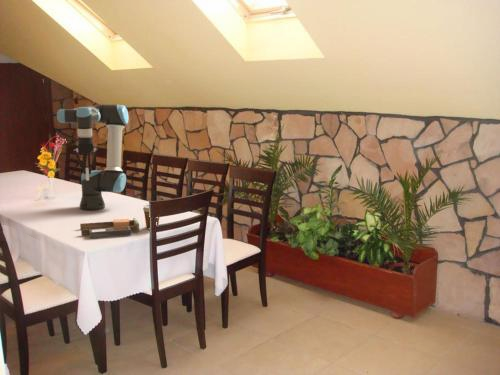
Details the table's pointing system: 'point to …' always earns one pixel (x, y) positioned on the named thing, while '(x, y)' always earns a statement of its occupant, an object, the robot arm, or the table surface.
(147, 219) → the disposable coffee cup
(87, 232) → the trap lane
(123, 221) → the terracotta block
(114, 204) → the table surface
